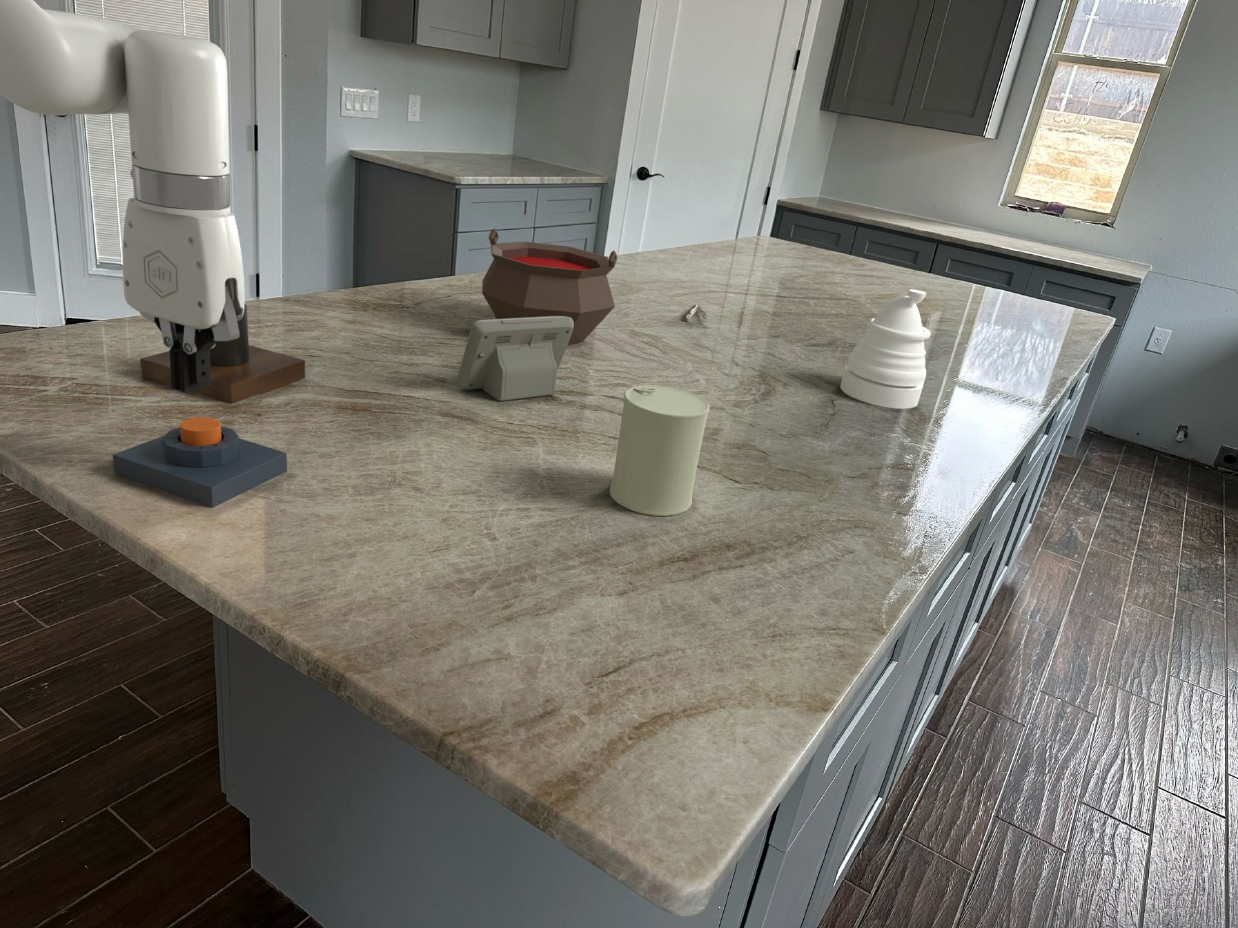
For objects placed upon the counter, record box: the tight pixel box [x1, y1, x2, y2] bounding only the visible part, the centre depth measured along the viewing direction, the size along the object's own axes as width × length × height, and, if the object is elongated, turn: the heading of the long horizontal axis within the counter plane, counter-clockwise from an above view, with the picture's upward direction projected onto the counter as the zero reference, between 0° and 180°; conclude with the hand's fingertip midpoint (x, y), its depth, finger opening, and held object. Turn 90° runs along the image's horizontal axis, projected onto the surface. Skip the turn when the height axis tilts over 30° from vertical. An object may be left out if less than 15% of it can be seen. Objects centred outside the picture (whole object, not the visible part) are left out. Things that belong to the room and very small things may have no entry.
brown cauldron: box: [481, 227, 618, 346], centre depth 145 cm, size 24×24×16 cm
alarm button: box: [179, 416, 222, 446], centre depth 83 cm, size 4×4×2 cm
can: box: [609, 384, 710, 517], centre depth 92 cm, size 9×9×12 cm
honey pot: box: [839, 289, 931, 410], centre depth 138 cm, size 13×13×18 cm
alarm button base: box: [112, 425, 288, 509], centre depth 84 cm, size 12×10×4 cm
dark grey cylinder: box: [199, 303, 250, 366], centre depth 107 cm, size 6×6×7 cm
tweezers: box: [685, 302, 710, 326], centre depth 177 cm, size 18×5×2 cm, turn 175°
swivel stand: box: [139, 344, 306, 405], centre depth 109 cm, size 14×13×2 cm
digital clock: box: [456, 316, 574, 402], centre depth 118 cm, size 16×9×11 cm, turn 116°
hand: (191, 387), depth 81 cm, fingers closed
